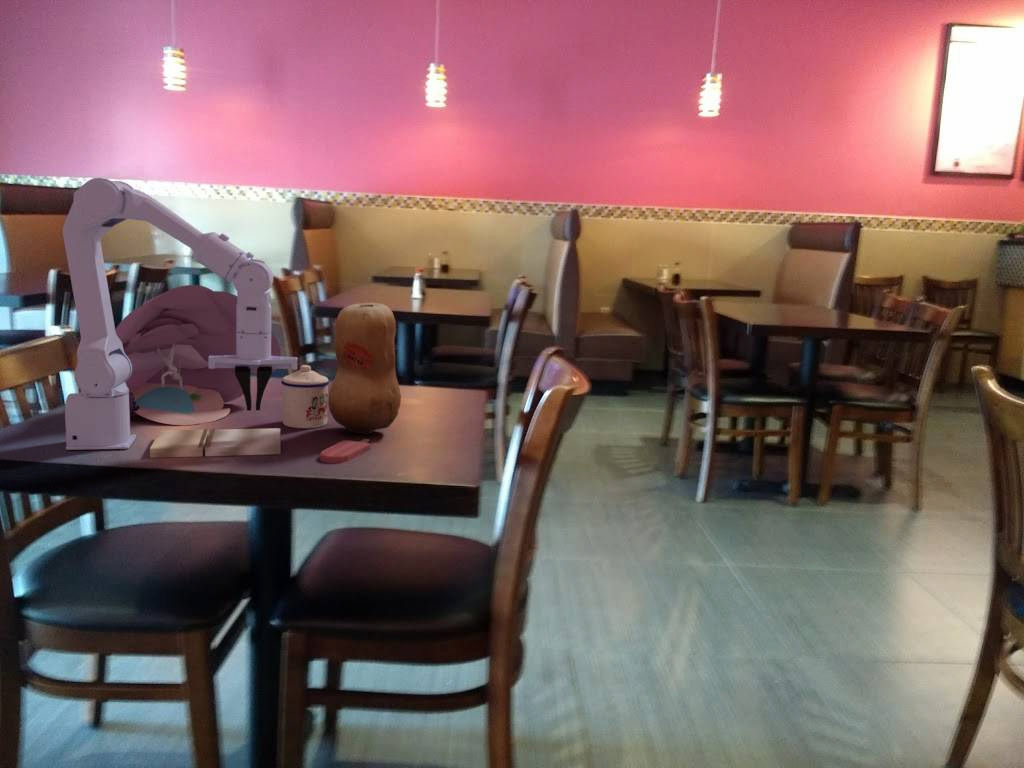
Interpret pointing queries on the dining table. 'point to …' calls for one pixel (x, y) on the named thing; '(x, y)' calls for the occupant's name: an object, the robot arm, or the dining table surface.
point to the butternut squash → (365, 369)
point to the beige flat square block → (243, 442)
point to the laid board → (179, 443)
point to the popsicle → (344, 451)
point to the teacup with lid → (305, 399)
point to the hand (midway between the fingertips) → (253, 409)
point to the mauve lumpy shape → (182, 355)
